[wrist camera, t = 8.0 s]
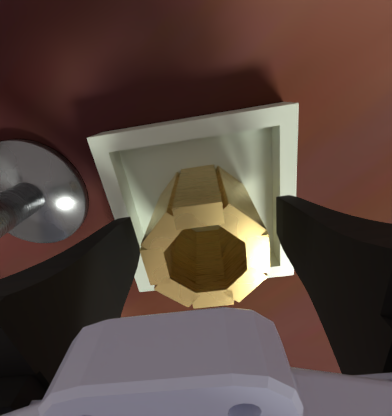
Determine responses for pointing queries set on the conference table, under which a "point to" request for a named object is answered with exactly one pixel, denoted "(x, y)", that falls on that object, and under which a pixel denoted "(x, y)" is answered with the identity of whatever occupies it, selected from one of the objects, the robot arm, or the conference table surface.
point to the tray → (201, 156)
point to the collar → (205, 240)
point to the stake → (39, 192)
